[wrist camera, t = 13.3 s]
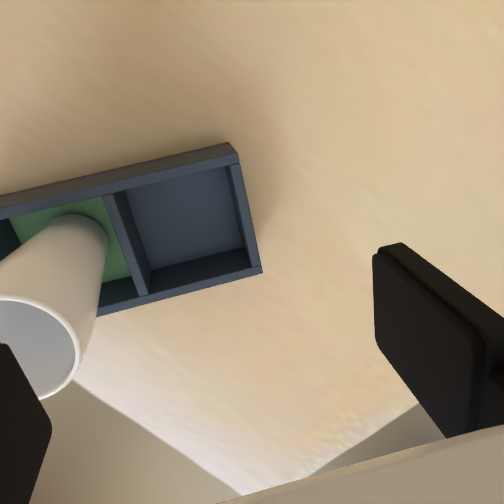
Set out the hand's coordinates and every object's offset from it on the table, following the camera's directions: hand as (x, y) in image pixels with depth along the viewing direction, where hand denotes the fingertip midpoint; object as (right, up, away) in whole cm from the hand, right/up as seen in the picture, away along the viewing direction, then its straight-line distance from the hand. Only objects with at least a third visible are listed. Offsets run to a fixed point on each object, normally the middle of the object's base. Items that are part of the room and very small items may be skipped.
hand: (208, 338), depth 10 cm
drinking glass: (-14, +3, +23) cm, 27 cm away
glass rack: (-9, +5, +24) cm, 26 cm away
